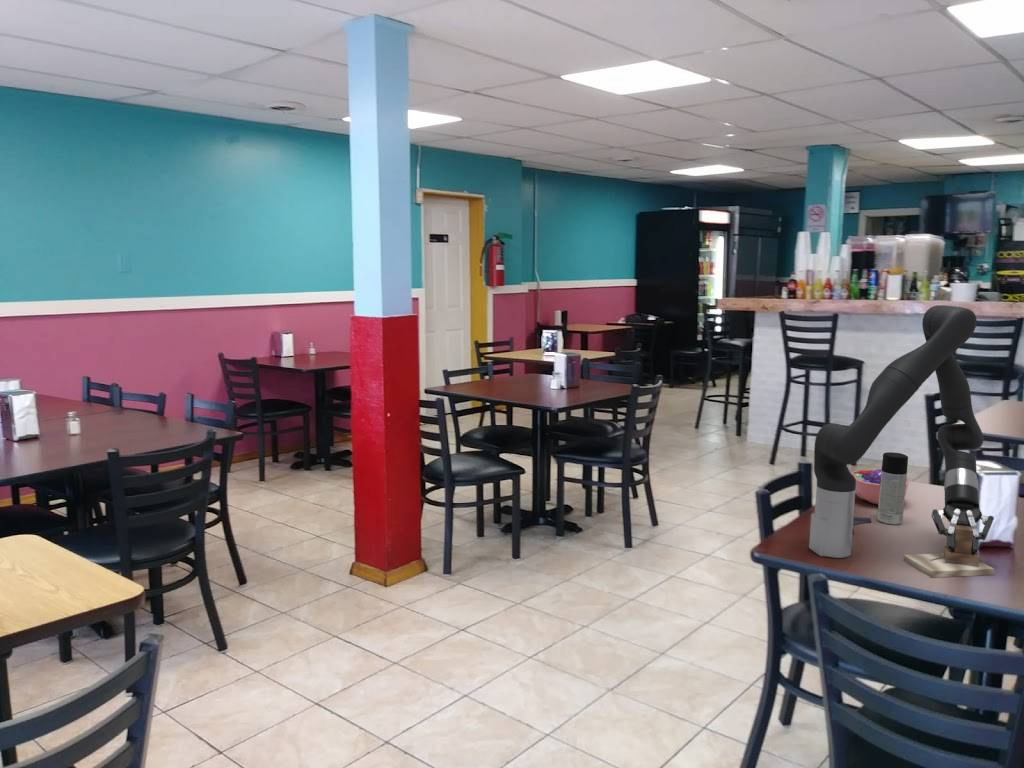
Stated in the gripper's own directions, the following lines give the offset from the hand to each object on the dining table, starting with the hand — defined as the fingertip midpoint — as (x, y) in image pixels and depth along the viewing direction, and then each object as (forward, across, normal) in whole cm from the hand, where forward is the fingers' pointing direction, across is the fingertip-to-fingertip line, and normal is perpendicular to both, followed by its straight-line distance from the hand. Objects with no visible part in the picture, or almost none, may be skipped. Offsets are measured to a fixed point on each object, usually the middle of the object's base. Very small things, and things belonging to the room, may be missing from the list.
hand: (963, 551), depth 190 cm
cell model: (-35, -17, +42) cm, 57 cm away
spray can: (-21, -14, +28) cm, 37 cm away
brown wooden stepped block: (+1, 0, +4) cm, 4 cm away
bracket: (-13, -26, +21) cm, 36 cm away
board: (+3, -3, +4) cm, 6 cm away
